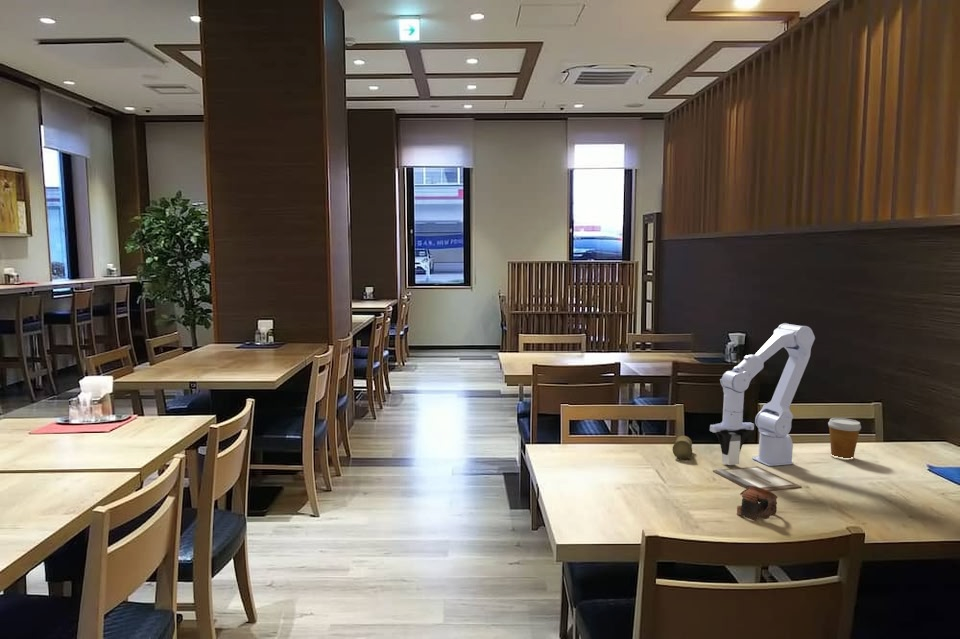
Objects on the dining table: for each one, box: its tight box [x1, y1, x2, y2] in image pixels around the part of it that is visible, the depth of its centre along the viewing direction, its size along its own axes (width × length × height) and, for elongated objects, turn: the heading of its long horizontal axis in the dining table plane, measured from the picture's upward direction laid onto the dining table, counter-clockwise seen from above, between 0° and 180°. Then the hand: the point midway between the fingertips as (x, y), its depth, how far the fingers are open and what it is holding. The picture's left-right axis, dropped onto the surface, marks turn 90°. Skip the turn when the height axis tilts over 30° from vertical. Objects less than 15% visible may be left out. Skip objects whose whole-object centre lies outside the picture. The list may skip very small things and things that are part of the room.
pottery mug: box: [736, 485, 778, 522], centre depth 163 cm, size 12×10×8 cm
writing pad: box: [712, 465, 802, 492], centre depth 191 cm, size 16×18×1 cm
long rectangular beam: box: [721, 432, 741, 466], centre depth 203 cm, size 4×4×9 cm
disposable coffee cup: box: [827, 417, 862, 458], centre depth 214 cm, size 10×10×12 cm
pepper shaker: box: [672, 435, 693, 461], centre depth 213 cm, size 6×6×11 cm
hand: (730, 453), depth 203 cm, fingers closed on long rectangular beam, 4 cm apart
